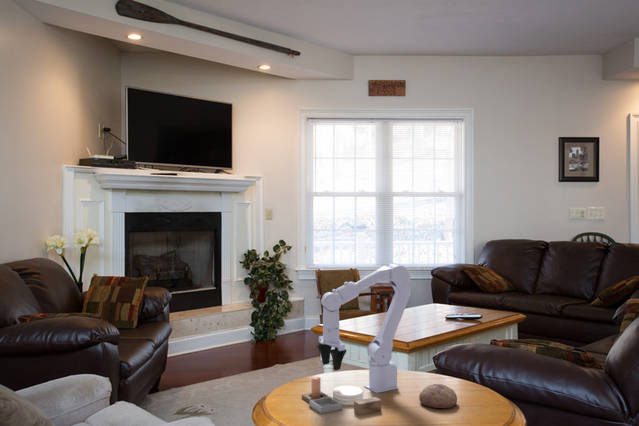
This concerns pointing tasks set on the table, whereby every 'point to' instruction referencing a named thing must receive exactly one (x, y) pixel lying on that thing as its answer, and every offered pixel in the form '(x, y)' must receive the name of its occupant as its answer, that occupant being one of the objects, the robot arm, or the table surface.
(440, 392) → the decorative stone
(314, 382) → the dowel
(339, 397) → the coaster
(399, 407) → the table surface
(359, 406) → the brown rectangular block
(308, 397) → the collar
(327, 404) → the tray
